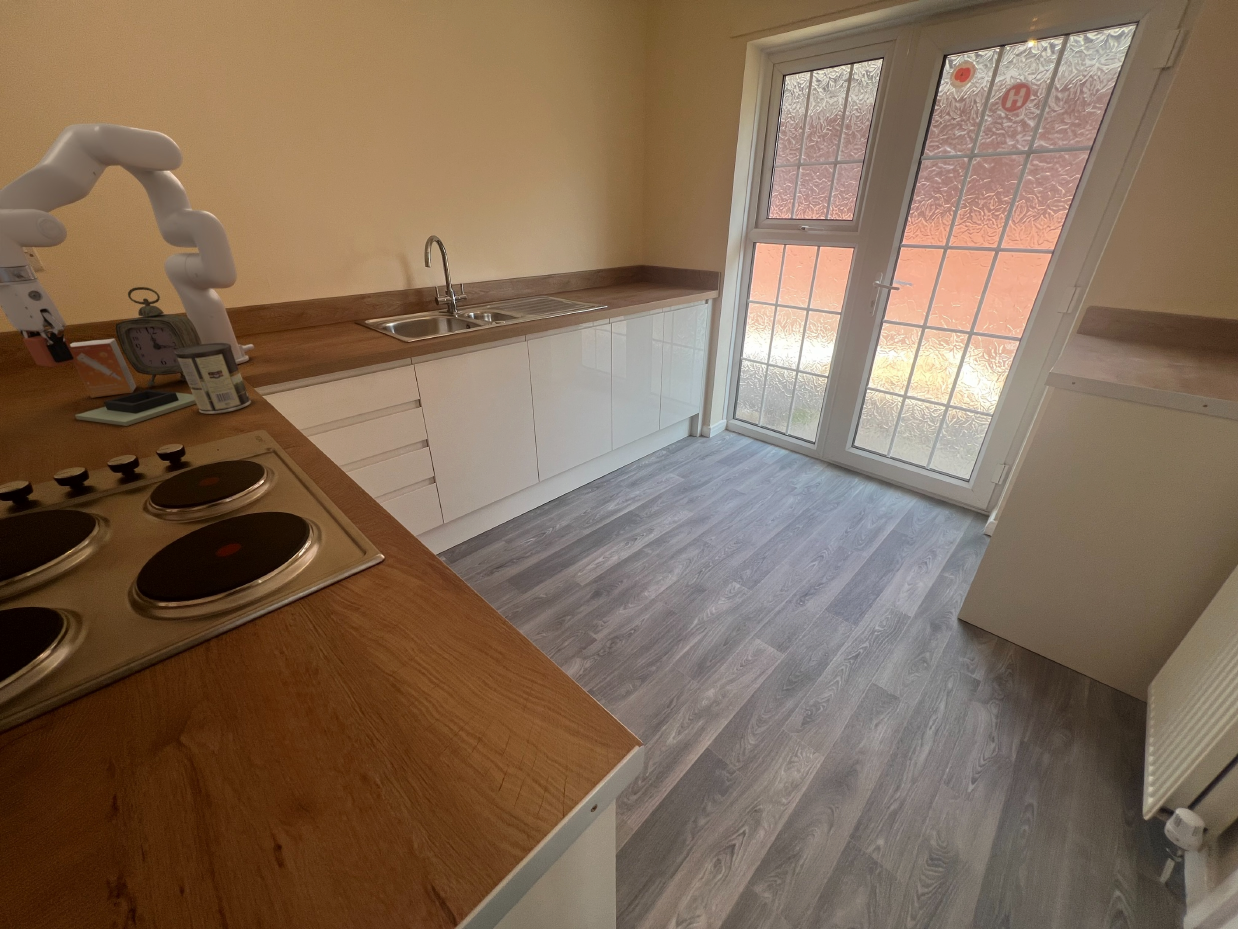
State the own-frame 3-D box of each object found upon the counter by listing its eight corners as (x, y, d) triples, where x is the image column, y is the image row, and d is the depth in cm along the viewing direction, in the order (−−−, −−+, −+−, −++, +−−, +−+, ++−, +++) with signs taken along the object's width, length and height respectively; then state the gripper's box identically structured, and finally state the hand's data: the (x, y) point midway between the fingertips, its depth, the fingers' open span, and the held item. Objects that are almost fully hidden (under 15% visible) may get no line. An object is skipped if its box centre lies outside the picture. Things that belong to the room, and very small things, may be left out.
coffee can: (231, 397, 125) (210, 341, 119) (261, 401, 122) (241, 344, 116) (187, 411, 116) (162, 351, 110) (219, 416, 113) (194, 354, 107)
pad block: (64, 359, 117) (50, 333, 115) (78, 360, 116) (64, 334, 113) (37, 365, 113) (22, 338, 110) (51, 366, 112) (36, 340, 109)
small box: (91, 398, 126) (64, 347, 120) (96, 392, 131) (72, 342, 125) (133, 392, 130) (109, 342, 124) (137, 386, 135) (115, 337, 129)
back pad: (161, 394, 128) (156, 383, 127) (208, 399, 124) (203, 388, 123) (76, 419, 113) (70, 406, 112) (126, 426, 109) (120, 413, 107)
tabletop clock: (140, 389, 133) (95, 290, 121) (162, 379, 141) (122, 285, 129) (200, 385, 135) (161, 288, 123) (218, 376, 143) (183, 283, 131)
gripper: (59, 274, 107) (101, 358, 115) (8, 272, 111) (52, 353, 120) (13, 279, 101) (61, 367, 109) (-40, 277, 105) (11, 362, 113)
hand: (56, 359), depth 114 cm, fingers closed on pad block, 5 cm apart
